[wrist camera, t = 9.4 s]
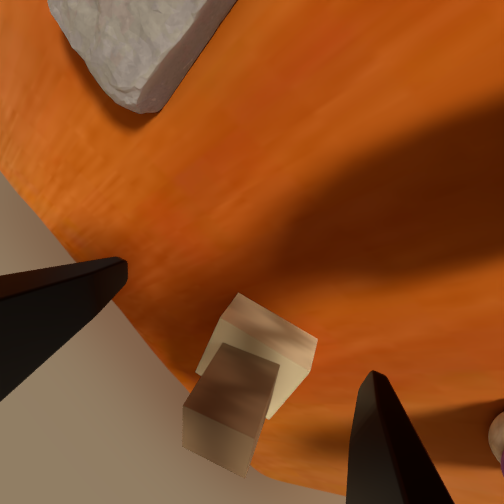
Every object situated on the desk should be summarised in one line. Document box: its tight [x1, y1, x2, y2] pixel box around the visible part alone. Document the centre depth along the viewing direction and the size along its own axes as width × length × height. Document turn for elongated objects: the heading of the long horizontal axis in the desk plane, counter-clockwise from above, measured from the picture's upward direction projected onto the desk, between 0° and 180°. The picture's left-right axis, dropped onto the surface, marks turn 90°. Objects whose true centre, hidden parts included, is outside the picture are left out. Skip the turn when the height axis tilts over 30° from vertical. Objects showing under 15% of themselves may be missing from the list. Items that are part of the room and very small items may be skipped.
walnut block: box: [182, 343, 280, 478], centre depth 21 cm, size 5×5×6 cm
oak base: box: [195, 293, 318, 419], centre depth 26 cm, size 8×8×4 cm
